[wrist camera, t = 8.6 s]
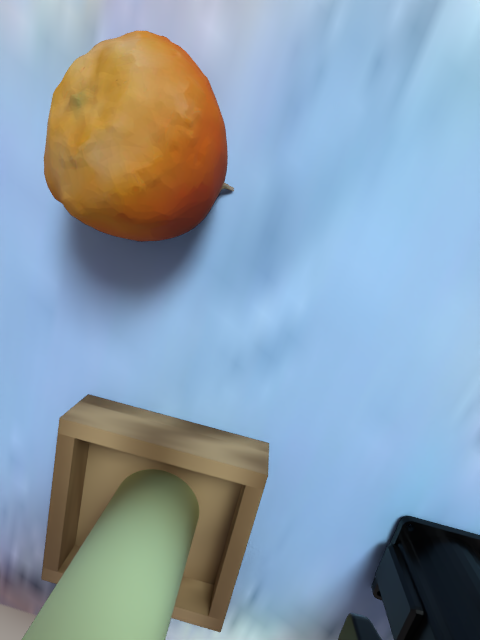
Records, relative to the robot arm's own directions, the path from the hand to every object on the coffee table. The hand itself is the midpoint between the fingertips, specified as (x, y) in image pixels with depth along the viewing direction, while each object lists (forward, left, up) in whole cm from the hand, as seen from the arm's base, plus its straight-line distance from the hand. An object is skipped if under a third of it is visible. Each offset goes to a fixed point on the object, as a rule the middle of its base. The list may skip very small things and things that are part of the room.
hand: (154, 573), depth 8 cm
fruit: (+6, -10, -13) cm, 18 cm away
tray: (+2, +10, -13) cm, 17 cm away
